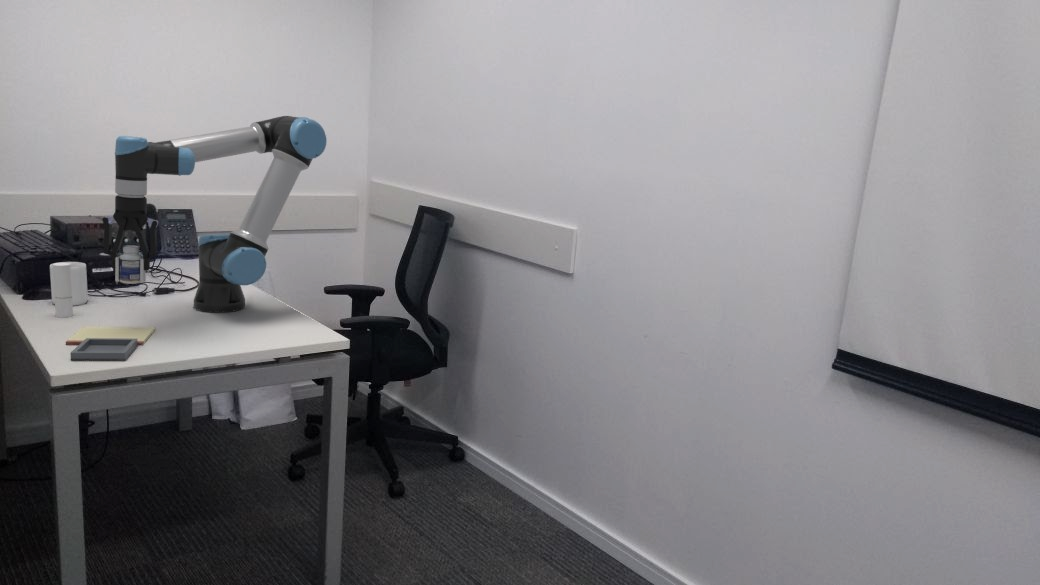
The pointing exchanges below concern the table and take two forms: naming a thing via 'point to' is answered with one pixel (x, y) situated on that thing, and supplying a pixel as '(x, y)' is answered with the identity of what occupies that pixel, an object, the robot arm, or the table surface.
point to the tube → (63, 289)
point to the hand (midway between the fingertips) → (130, 280)
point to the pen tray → (104, 349)
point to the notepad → (111, 334)
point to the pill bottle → (130, 265)
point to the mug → (74, 283)
